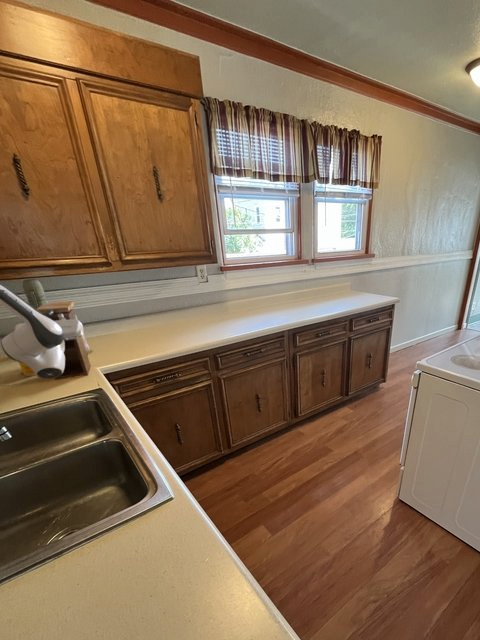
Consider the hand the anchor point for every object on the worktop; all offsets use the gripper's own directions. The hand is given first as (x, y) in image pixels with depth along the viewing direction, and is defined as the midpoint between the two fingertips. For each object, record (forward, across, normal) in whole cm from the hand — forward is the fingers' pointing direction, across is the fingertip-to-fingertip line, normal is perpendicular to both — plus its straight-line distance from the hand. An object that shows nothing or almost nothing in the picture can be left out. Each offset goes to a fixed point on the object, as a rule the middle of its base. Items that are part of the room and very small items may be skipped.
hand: (49, 316), depth 126 cm
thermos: (+30, +14, +48) cm, 58 cm away
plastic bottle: (+15, -1, +40) cm, 43 cm away
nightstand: (-7, 0, +26) cm, 27 cm away
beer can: (-2, +16, +29) cm, 33 cm away
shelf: (+8, 0, +5) cm, 10 cm away
